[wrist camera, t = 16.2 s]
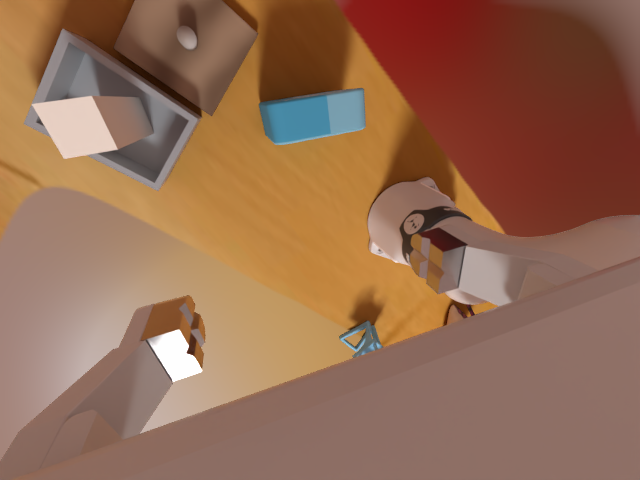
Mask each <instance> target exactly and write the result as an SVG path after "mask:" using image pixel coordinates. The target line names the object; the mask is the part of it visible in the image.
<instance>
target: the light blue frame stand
mask: <svg viewBox="0 0 640 480" xmlns="http://www.w3.org/2000/svg"><path fill="white" fill-rule="evenodd" d="M365 328H366V333H365V334H364V336H363V337H362V339H361V340H360V342H359V343H358V344H357V346H356V347H354V346H353V345H352V344H350V343H349V342H348V341H346V340H345V339H344V338H346V337H348V336H351V335H353V334H355V333H357V332H359V331H361V330H363V329H365ZM371 333H372V336H373V339H372V338H371ZM339 338H340V340H341V341H342V342H344V343H345V344H346V345H347V346H349V347H350V348H351V349H353V350H354V351H358V350H359V349H360V348H361V349H360V350H359V351H358V352H357V353H355V354H354V355H353V358H355V357H358V356H360V355H363V354H366V353H369V352H372V351H375V350H377V349H380V348H383V346H382V345H381V343H380V341H379V338H378V335H377V332H376V328H375V326H374V325H372V326H371V324H370V322H369V321H366V322H365V323H363V324H361V325H359V326H357V327H355V328H354V329H352V330H350V331H348V332H346V333H344V334H342V335H340V336H339ZM363 344H364V345H363ZM362 345H363V346H362ZM361 346H362V347H361Z"/></svg>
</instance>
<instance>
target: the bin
mask: <svg viewBox="0 0 640 480" xmlns="http://www.w3.org/2000/svg"><path fill="white" fill-rule="evenodd" d="M87 96H115V97H139V98H140V100H141V103H142V105H143V108H144V110H145V112H146V115H147V117H148V120H149V122H150V125H151V127H152V129H153V132H154V134H152V135H149V136H147V137H145V138H143V139H140V140H138V141H136V142H134V143H132V144H129V145H127V146H125V147H123V148H120V149H118V150H112V151H107V152H101V153H95V154H89V155H87V156H89V157H91V158H93V159H95V160H97V161H99V162H101V163H103V164H105V165H107V166H109V167H111V168H113V169H115V170H117V171H119V172H121V173H123V174H125V175H127V176H129V177H131V178H133V179H135V180H137V181H139V182H141V183H143V184H145V185H147V186H149V187H151V188H153V189H155V190H157V191H159V189H160V188H161V187H162V186H163V184H164V183H165V182H166V180H167V178H168V176H169V175H170V173H171V171H172V169H173V168H174V166H175V164H176V162H177V160H178V159H179V157H180V155H181V153H182V152H183V150H184V148H185V146H186V144H187V143H188V141H189V139H190V137H191V136H192V134H193V132H194V130H195V128H196V127H197V125H198V123H199V121H200V119H201V118H202V117H201V116H199V115H198V114H196V113H195V112H193V111H192V110H190V109H189V108H188V107H186V106H185V105H183V104H182V103H180V102H179V101H177V100H176V99H174V98H173V97H171V96H170V95H168V94H167V93H165V92H164V91H162V90H161V89H159V88H158V87H157V86H155V85H154V84H152V83H151V82H149V81H148V80H146V79H145V78H143V77H142V76H140V75H139V74H137V73H136V72H134V71H133V70H131V69H130V68H129V67H127V66H126V65H124V64H123V63H121V62H120V61H118V60H117V59H115V58H114V57H112V56H111V55H109V54H108V53H106V52H105V51H103V50H102V49H101V48H99V47H98V46H96V45H95V44H93V43H92V42H90V41H89V40H87V39H86V38H84V37H81V36H79V35H77V34H74V33H72V32H70V31H67V30H65V29H63V28H62V31H61V33H60V36H59V38H58V41H57V43H56V46H55V48H54V51H53V53H52V56H51V58H50V60H49V63H48V65H47V68H46V70H45V73H44V75H43V78H42V80H41V83H40V85H39V88H38V90H37V93H36V95H35V97H34V100H33V102H32V104H36V103H43V102H50V101H58V100H65V99H72V98H80V97H87ZM24 124H25V125H27V126H29V127H31V128H33V129H35V130H37V131H39V132H41V133H43V134H45V135H47V136H49V137H51V136H50V134H49V133H48V131H47V129H46V128H45V126H44V124H43V123H42V121H41V119H40V118H39V116H38V114H37V112H36V111H35V109H34V107H33V106H32V105H31V107H30V110H29V112H28V115H27V117H26V120H25V122H24Z"/></svg>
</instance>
